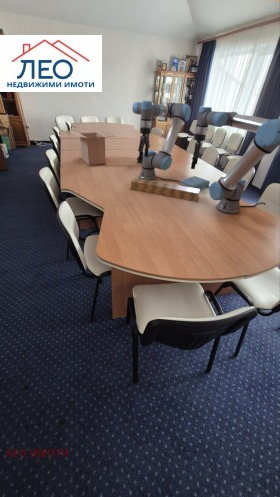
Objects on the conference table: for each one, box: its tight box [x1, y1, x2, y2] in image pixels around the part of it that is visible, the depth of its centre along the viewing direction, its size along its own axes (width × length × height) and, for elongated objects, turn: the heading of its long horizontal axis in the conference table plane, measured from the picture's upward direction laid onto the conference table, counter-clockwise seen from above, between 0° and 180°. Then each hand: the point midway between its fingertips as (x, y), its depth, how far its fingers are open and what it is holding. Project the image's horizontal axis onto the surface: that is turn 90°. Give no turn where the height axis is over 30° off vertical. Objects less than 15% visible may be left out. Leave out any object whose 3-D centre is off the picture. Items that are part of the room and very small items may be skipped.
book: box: [178, 175, 211, 190], centre depth 191 cm, size 23×16×5 cm
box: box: [70, 129, 114, 166], centre depth 229 cm, size 44×36×27 cm
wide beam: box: [130, 177, 201, 203], centre depth 176 cm, size 54×10×6 cm, turn 72°
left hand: (143, 158), depth 168 cm, fingers open, 13 cm apart
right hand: (193, 166), depth 159 cm, fingers open, 13 cm apart
